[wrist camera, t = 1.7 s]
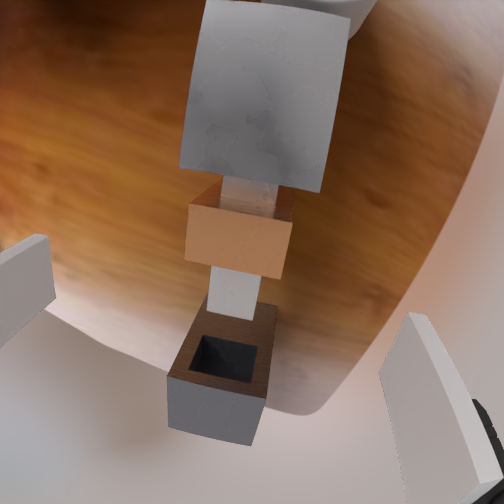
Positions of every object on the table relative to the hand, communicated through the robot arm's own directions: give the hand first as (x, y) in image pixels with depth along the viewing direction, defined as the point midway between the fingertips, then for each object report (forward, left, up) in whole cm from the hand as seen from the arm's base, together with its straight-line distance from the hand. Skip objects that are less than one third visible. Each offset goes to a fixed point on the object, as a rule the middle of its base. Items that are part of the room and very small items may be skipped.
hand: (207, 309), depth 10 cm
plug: (-3, 0, -14) cm, 14 cm away
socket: (+14, 0, -19) cm, 23 cm away
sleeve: (-8, 0, -19) cm, 20 cm away
